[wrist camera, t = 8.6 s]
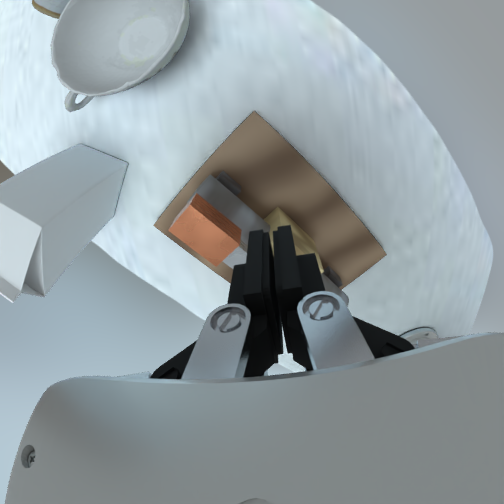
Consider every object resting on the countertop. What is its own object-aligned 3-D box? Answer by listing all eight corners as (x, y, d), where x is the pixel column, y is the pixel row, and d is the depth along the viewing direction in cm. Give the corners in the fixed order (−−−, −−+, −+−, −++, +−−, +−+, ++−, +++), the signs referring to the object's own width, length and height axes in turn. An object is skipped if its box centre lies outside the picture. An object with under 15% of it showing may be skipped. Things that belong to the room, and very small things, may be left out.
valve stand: (382, 248, 31) (410, 292, 24) (289, 317, 38) (294, 366, 31) (254, 110, 23) (252, 116, 16) (157, 219, 30) (129, 261, 23)
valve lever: (304, 280, 23) (308, 298, 21) (281, 298, 24) (282, 316, 23) (197, 191, 19) (190, 203, 17) (175, 217, 20) (167, 231, 18)
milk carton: (80, 142, 25) (-50, 217, 9) (129, 162, 26) (5, 262, 10) (70, 195, 28) (-33, 289, 12) (114, 215, 30) (21, 332, 14)
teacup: (145, -26, 14) (113, -53, 7) (234, 22, 18) (224, -6, 12) (65, 80, 20) (18, 86, 13) (138, 134, 25) (99, 151, 18)
